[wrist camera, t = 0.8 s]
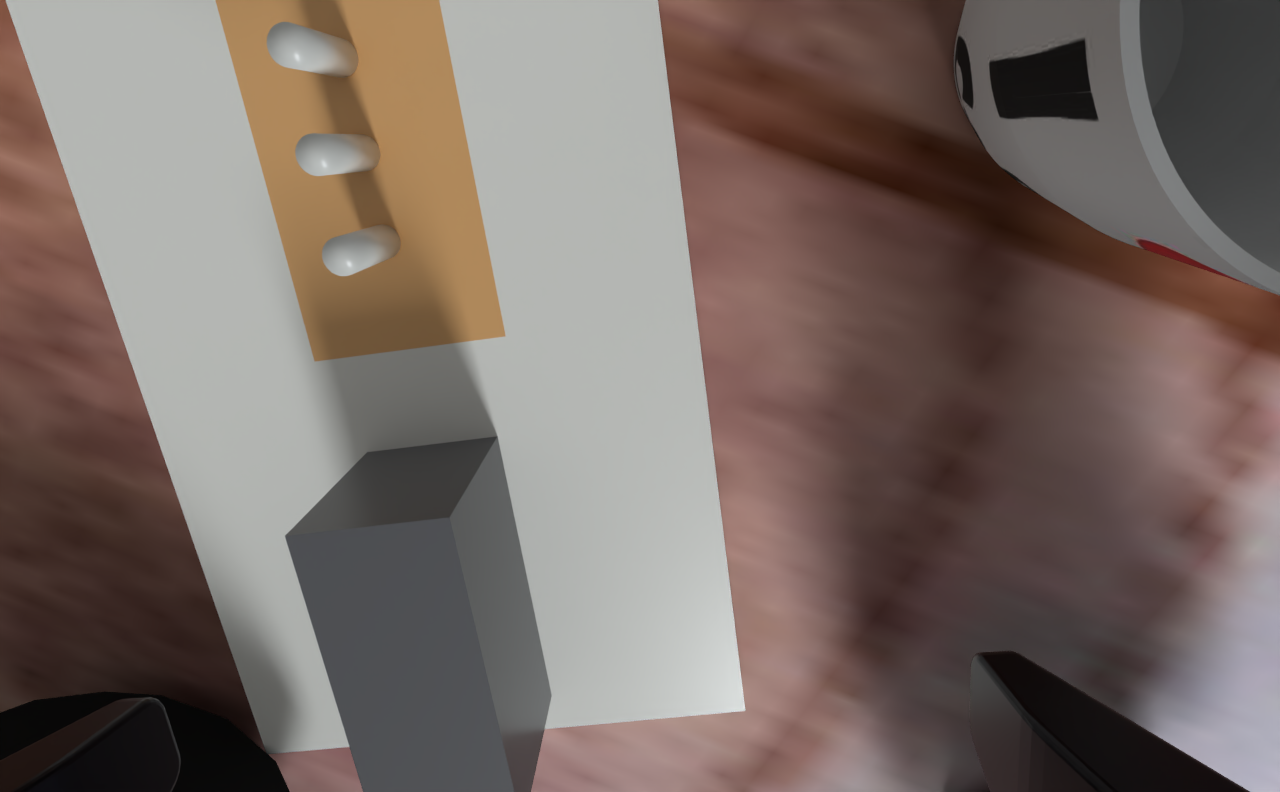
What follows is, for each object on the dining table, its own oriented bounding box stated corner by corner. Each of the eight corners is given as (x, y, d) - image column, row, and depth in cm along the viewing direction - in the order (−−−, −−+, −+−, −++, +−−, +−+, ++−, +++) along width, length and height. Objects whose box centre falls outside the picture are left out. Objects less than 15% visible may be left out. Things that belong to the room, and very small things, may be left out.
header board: (741, 683, 23) (753, 779, 20) (285, 725, 24) (220, 824, 21) (633, -192, 17) (623, -281, 13) (17, -79, 18) (-143, -133, 14)
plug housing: (552, 695, 22) (523, 827, 18) (433, 706, 23) (377, 839, 18) (497, 436, 20) (449, 517, 16) (367, 452, 20) (284, 535, 16)
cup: (811, 79, 18) (962, 13, 9) (1082, -259, 16) (1672, -832, 7) (1058, 298, 20) (1424, 449, 10) (1339, 13, 17) (2142, -140, 8)
